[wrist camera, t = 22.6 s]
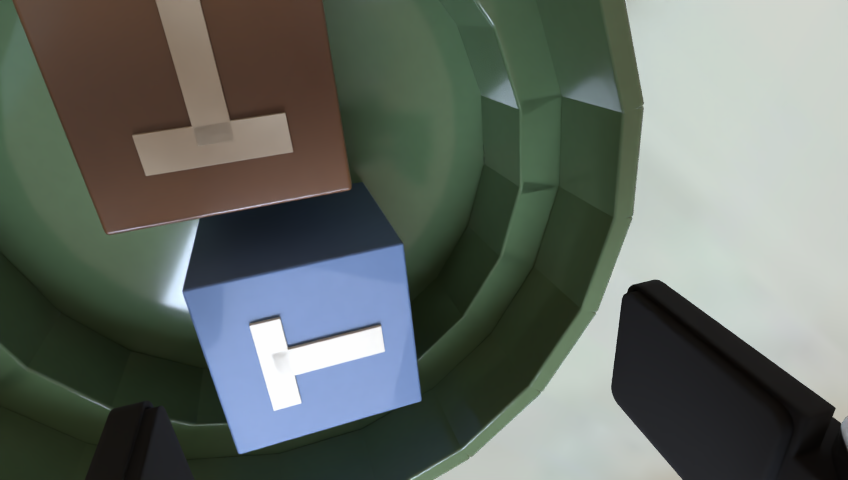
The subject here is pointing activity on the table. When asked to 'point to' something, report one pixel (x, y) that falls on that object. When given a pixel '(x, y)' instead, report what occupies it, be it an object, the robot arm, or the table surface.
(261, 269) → the periwinkle blue block
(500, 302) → the faceted green bowl
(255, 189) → the walnut block
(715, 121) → the table surface
